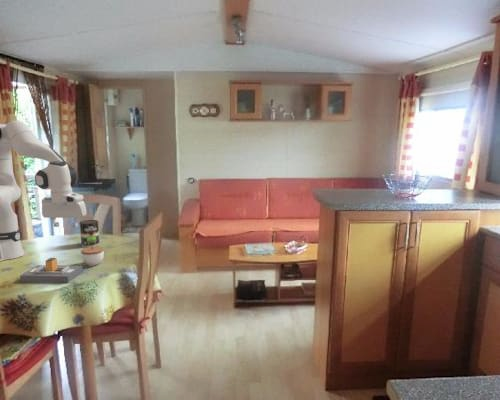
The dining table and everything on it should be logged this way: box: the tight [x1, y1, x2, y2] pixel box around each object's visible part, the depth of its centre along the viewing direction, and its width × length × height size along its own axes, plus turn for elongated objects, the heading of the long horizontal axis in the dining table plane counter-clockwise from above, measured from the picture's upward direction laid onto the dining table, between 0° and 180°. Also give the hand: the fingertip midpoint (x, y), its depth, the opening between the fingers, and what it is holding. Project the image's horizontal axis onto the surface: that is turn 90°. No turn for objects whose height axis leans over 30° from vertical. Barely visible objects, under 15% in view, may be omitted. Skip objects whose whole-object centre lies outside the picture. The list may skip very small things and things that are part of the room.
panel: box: [19, 264, 84, 284], centre depth 171 cm, size 22×13×4 cm, turn 87°
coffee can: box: [79, 219, 101, 248], centre depth 219 cm, size 10×10×14 cm
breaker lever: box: [45, 257, 58, 271], centre depth 170 cm, size 3×4×5 cm
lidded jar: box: [80, 245, 105, 267], centre depth 187 cm, size 11×11×9 cm
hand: (66, 226), depth 169 cm, fingers open, 8 cm apart
